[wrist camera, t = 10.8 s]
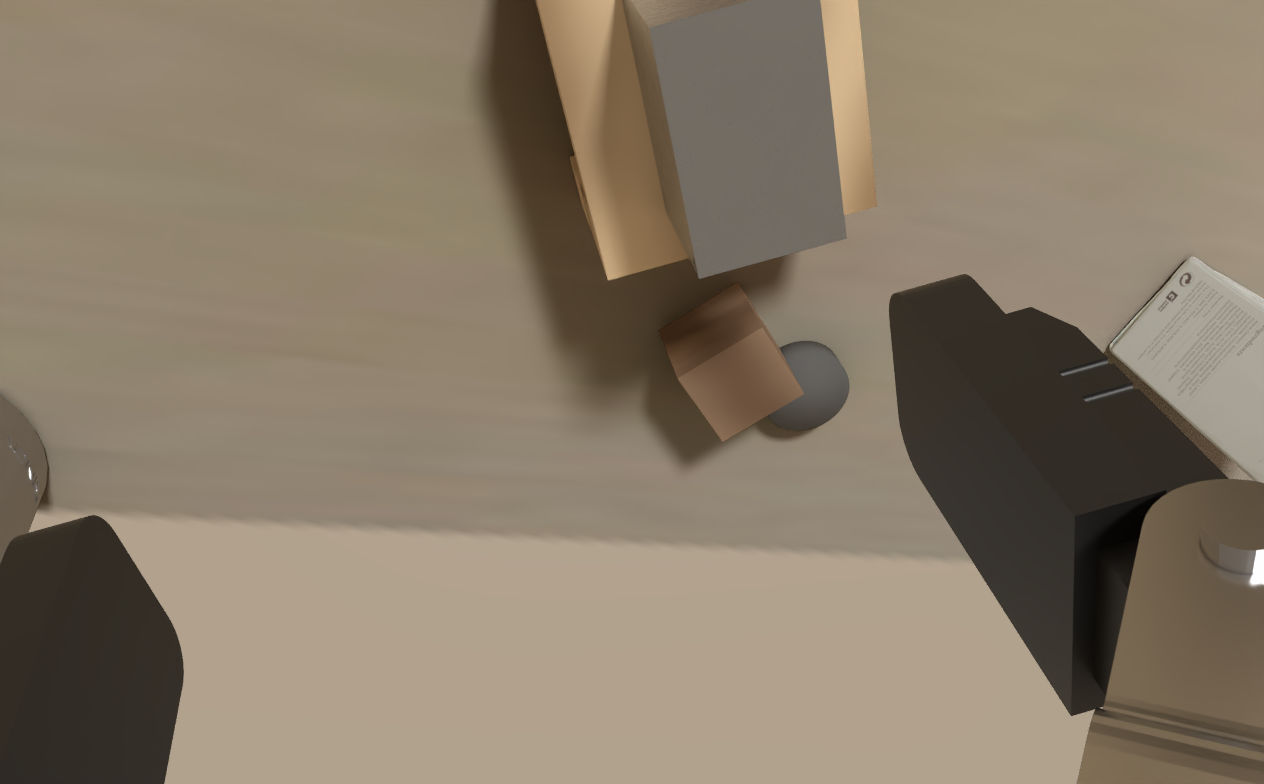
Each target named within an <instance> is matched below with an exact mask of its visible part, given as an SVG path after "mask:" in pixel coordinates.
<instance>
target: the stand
mask: <svg viewBox="0 0 1264 784" xmlns="http://www.w3.org/2000/svg"><path fill="white" fill-rule="evenodd" d="M820 1H821V10H822V19H823V28H824V37H825V46H826V55H827V65H828V74H829V83H830V92H831V101H832V110H833V119H834V128H835V137H836V146H837V155H838V165H839V174H840V183H841V192H842V201H843V210H844V215H847V214H851V213H854V212H858V211H861V210H865V209H869V208H872V207H876V206H877V200H876V190H875V179H874V169H873V158H872V148H871V137H870V126H869V116H868V105H867V95H866V84H865V74H864V63H863V52H862V42H861V31H860V21H859V10H858V0H820ZM536 4H537V8H538V12H539V16H540V20H541V24H542V28H543V32H544V36H545V40H546V44H547V48H548V51H549V55H550V59H551V63H552V67H553V71H554V75H555V79H556V83H557V87H558V91H559V95H560V99H561V103H562V106H563V110H564V114H565V118H566V122H567V126H568V130H569V134H570V138H571V142H572V146H573V150H574V154H575V155H574V156H571V157H570V161H571V165H572V169H573V173H574V177H575V181H576V185H577V188H578V192H579V196H580V200H581V204H582V206H583V209H584V212H585V215H586V218H587V221H588V224H589V226H590V229H591V232H592V235H593V238H594V241H595V243H596V246H597V249H598V252H599V255H600V258H601V261H602V263H603V267H604V270H605V273H606V276H607V279H608V281H609V280H612V279H616V278H619V277H623V276H627V275H630V274H634V273H638V272H641V271H645V270H648V269H652V268H656V267H659V266H663V265H666V264H670V263H674V262H677V261H681V260H684V259H688V256H687V254H686V252H685V250H684V248H683V246H682V244H681V242H680V240H679V238H678V236H677V234H676V232H675V230H674V227H673V225H672V223H671V221H670V219H669V217H668V215H667V213H666V209H665V205H664V200H663V195H662V190H661V185H660V181H659V176H658V171H657V166H656V161H655V157H654V152H653V147H652V142H651V137H650V133H649V128H648V123H647V118H646V113H645V109H644V104H643V99H642V94H641V90H640V85H639V80H638V75H637V70H636V66H635V61H634V56H633V51H632V46H631V42H630V37H629V32H628V27H627V22H626V18H625V13H624V8H623V3H622V0H536Z"/></svg>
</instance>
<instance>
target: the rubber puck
mask: <svg viewBox="0 0 1264 784" xmlns="http://www.w3.org/2000/svg"><path fill="white" fill-rule="evenodd" d="M779 349H780V350H781V352H782V354H783V356H784V358H785V359H786V361H787V363H788V365H789V367H790V369H791V370H792V372H793V374H794V376H795V378H796V379H797V381H798V383H799V385H800V387H801V389H802V390H803V392H804V394H803V395H802V396H800V397H798V398H797V399H795V400H793V401H791V402H790V403H788V404H786V405H785V406H783V407H781V408H780V409H778V410H776V411H774V412H773V413H771V414H769V415H768V418H769V419H770V420H771V421H772V422H773V423H774V424H776V425H777V426H779V427H781V428H784V429H787V430H793V431H802V430H808V429H812V428H815V427H818V426H820V425H822V424H824V423H826V422H827V421H829V420H830V419H832V418H833V417H834V416H835V415H836V414H837V413H838V412H839V411H840V409H841V408H842V407H843V405H844V403H845V401H846V399H847V396H848V393H849V379H848V376H847V374H846V372H845V370H844V368H843V367H842V365H841V363H840V362H839V360H838V359H837V357H836V355H835V354H834V353H833V352H832V351H831V350H830V349H829V348H828V347H826V346H825V345H823V344H820V343H817V342H812V341H799V342H794V343H791V344H788V345H785V346H783V347H781V348H779Z"/></svg>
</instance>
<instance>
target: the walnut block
mask: <svg viewBox="0 0 1264 784" xmlns="http://www.w3.org/2000/svg"><path fill="white" fill-rule="evenodd" d="M659 333H660V336H661V338H662V341H663V343H664V346H665V348H666V351H667V353H668V356H669V358H670V361H671V364H672V366H673V369H674V371H675V374H676V376H677V379H678V380H679V382H680V383H681V384H682V386H683V387H684V388H685V390H686V391H687V393H688V394H689V395H690V397H691V398H692V400H693V401H694V402H695V404H696V405H697V407H698V408H699V409H700V411H701V412H702V414H703V415H704V416H705V418H706V419H707V421H708V422H709V423H710V425H711V426H712V428H713V429H714V430H715V432H716V433H717V435H718V436H719V437H720V439H721V440H722V441H725V440H727V439H729V438H730V437H732V436H734V435H735V434H737V433H739V432H740V431H742V430H744V429H746V428H747V427H749V426H751V425H752V424H754V423H756V422H757V421H759V420H761V419H763V418H764V417H766V416H768V415H769V414H771V413H773V412H774V411H776V410H778V409H780V408H781V407H783V406H785V405H786V404H788V403H790V402H791V401H793V400H795V399H797V398H798V397H800V396H802V395H803V394H804V392H803V390H802V389H801V387H800V385H799V383H798V381H797V379H796V378H795V376H794V374H793V372H792V370H791V369H790V367H789V365H788V363H787V361H786V359H785V358H784V356H783V354H782V352H781V350H780V349H779V347H778V345H777V344H776V342H775V340H774V339H773V337H772V336H771V334H770V332H769V331H768V329H767V328H766V326H765V325H764V323H763V321H762V320H761V318H760V317H759V315H758V313H757V312H756V310H755V309H754V307H753V306H752V304H751V302H750V301H749V299H748V298H747V296H746V294H745V293H744V291H743V290H742V288H741V287H740V285H739V283H738V282H737V283H735V284H734V285H732V286H730V287H729V288H727V289H726V290H724V291H722V292H721V293H719V294H717V295H716V296H714V297H713V298H711V299H709V300H708V301H706V302H704V303H703V304H701V305H700V306H698V307H696V308H695V309H693V310H691V311H690V312H688V313H686V314H685V315H683V316H682V317H680V318H678V319H677V320H675V321H673V322H672V323H670V324H669V325H667V326H665V327H664V328H662V329H660V330H659Z"/></svg>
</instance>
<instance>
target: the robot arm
mask: <svg viewBox="0 0 1264 784" xmlns="http://www.w3.org/2000/svg"><path fill="white" fill-rule="evenodd" d="M889 318H890V329H891V340H892V351H893V361H894V372H895V383H896V394H897V405H898V415H899V422H900V428H901V432H902V436H903V440H904V443H905V446H906V449H907V452H908V455H909V458H910V460H911V462H912V465H913V467H914V469H915V471H916V473H917V475H918V476H919V478H920V480H921V481H922V483H923V484H924V486H925V488H926V489H927V491H928V492H929V494H930V495H931V497H932V499H933V500H934V502H935V503H936V505H937V506H938V508H939V509H940V511H941V513H942V514H943V516H944V517H945V519H946V520H947V522H948V524H949V525H950V527H951V528H952V530H953V531H954V533H955V535H956V536H957V538H958V539H959V541H960V542H961V544H962V546H963V547H964V549H965V550H966V552H967V553H968V555H969V557H970V558H971V560H972V561H973V563H974V564H975V566H976V568H977V569H978V571H979V572H980V574H981V575H982V577H983V578H984V580H985V582H986V583H987V585H988V586H989V588H990V589H991V591H992V593H993V594H994V596H995V597H996V599H997V600H998V602H999V604H1000V605H1001V607H1002V608H1003V610H1004V612H1005V613H1006V615H1007V616H1008V618H1009V619H1010V621H1011V622H1012V624H1013V626H1014V627H1015V629H1016V630H1017V632H1018V633H1019V635H1020V637H1021V638H1022V640H1023V641H1024V643H1025V644H1026V646H1027V647H1028V649H1029V651H1030V652H1031V654H1032V655H1033V657H1034V659H1035V660H1036V662H1037V663H1038V665H1039V666H1040V668H1041V669H1042V671H1043V673H1044V674H1045V676H1046V677H1047V679H1048V680H1049V682H1050V684H1051V685H1052V687H1053V688H1054V690H1055V691H1056V693H1057V695H1058V696H1059V698H1060V699H1061V701H1062V703H1063V704H1064V706H1065V707H1066V709H1067V710H1068V712H1069V714H1070V715H1071V716H1073V715H1077V714H1080V713H1083V712H1087V711H1090V710H1093V709H1095V711H1094V714H1093V717H1092V720H1091V724H1090V727H1089V731H1088V735H1087V740H1086V744H1085V748H1084V753H1083V757H1082V762H1081V767H1080V771H1079V775H1078V780H1077V784H1264V483H1262V482H1256V481H1251V480H1240V479H1228V478H1227V477H1226V476H1225V475H1224V474H1223V473H1222V472H1221V471H1220V470H1219V469H1218V468H1217V467H1216V466H1215V465H1214V464H1213V463H1212V462H1211V461H1210V460H1209V459H1208V458H1207V457H1206V456H1205V455H1204V454H1203V453H1202V452H1201V451H1200V450H1199V449H1198V448H1197V447H1196V446H1195V445H1194V444H1193V443H1192V442H1191V441H1190V440H1189V439H1188V438H1187V437H1186V436H1185V435H1184V434H1183V433H1182V432H1181V431H1180V430H1179V429H1178V428H1177V427H1176V426H1175V425H1174V424H1173V423H1172V422H1171V421H1170V420H1169V419H1168V418H1167V417H1166V416H1165V415H1164V414H1163V413H1162V412H1161V411H1160V410H1159V409H1158V408H1157V407H1156V406H1155V405H1154V404H1153V403H1152V402H1151V401H1150V400H1149V399H1148V398H1147V397H1146V396H1145V395H1144V394H1143V393H1142V392H1141V391H1140V390H1139V389H1137V390H1134V388H1133V384H1132V382H1131V381H1130V380H1129V379H1128V378H1127V377H1126V376H1125V375H1124V374H1123V373H1122V372H1121V371H1120V370H1119V369H1118V368H1117V367H1116V366H1115V365H1114V364H1111V365H1110V364H1109V363H1108V359H1107V357H1106V356H1105V355H1104V354H1103V353H1102V352H1101V351H1100V350H1099V349H1098V348H1097V347H1096V346H1095V345H1094V344H1093V343H1092V342H1091V341H1090V340H1089V339H1088V338H1087V337H1086V336H1085V335H1084V334H1083V333H1082V332H1081V331H1080V330H1079V329H1078V328H1077V327H1075V326H1073V325H1070V324H1068V323H1066V322H1064V321H1061V320H1059V319H1057V318H1055V317H1052V316H1050V315H1048V314H1046V313H1043V312H1041V311H1039V310H1036V309H1034V308H1032V307H1029V308H1026V309H1022V310H1019V311H1015V312H1011V313H1008V314H1005V313H1004V312H1003V311H1002V310H1001V309H1000V307H999V306H998V305H997V304H996V303H995V302H994V301H993V300H992V299H991V298H990V297H989V295H988V294H987V293H986V292H985V291H984V290H983V289H982V288H981V287H980V286H979V285H978V283H977V282H976V281H975V280H974V279H973V278H972V277H970V276H969V275H967V274H962V275H959V276H955V277H951V278H948V279H944V280H941V281H937V282H934V283H930V284H926V285H923V286H919V287H916V288H912V289H908V290H905V291H901V292H898V293H895V294H893V295H892V296H891V299H890V304H889ZM47 471H48V466H47V461H46V456H45V451H44V447H43V445H42V443H41V441H40V439H39V437H38V435H37V433H36V431H35V429H34V428H33V427H32V425H31V424H30V423H29V422H28V420H27V419H26V418H25V417H24V415H23V414H22V413H21V412H20V411H19V410H18V409H17V408H16V407H14V406H13V405H12V404H11V403H10V402H8V401H7V400H6V399H5V398H4V397H3V396H1V395H0V784H164V782H165V776H166V771H167V765H168V760H169V755H170V749H171V744H172V739H173V734H174V728H175V723H176V718H177V713H178V707H179V701H180V696H181V691H182V686H183V675H184V671H183V670H184V669H183V658H182V652H181V647H180V644H179V640H178V637H177V634H176V631H175V629H174V627H173V625H172V623H171V621H170V619H169V617H168V616H167V614H166V612H165V611H164V609H163V608H162V606H161V605H160V603H159V601H158V600H157V598H156V597H155V595H154V594H153V592H152V590H151V589H150V587H149V585H148V584H147V582H146V581H145V579H144V578H143V576H142V575H141V573H140V571H139V570H138V568H137V566H136V565H135V563H134V562H133V560H132V558H131V557H130V555H129V554H128V553H127V551H126V549H125V547H124V546H123V544H122V543H121V541H120V540H119V538H118V536H117V535H116V533H115V532H114V530H113V529H112V527H111V526H110V525H109V524H108V523H107V522H106V521H105V520H104V519H102V518H101V517H99V516H95V515H92V516H88V517H84V518H80V519H77V520H73V521H70V522H66V523H63V524H59V525H55V526H52V527H48V528H45V529H41V530H37V531H34V532H30V533H28V532H29V529H30V527H31V524H32V521H33V519H34V516H35V513H36V511H37V508H38V505H39V503H40V500H41V498H42V495H43V493H44V490H45V487H46V483H47ZM1100 707H1103V709H1101V708H1100Z"/></svg>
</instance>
